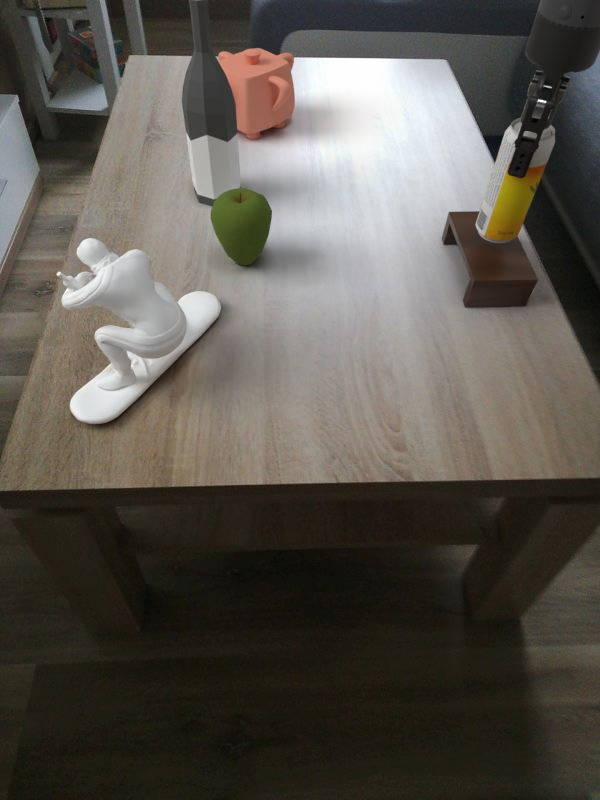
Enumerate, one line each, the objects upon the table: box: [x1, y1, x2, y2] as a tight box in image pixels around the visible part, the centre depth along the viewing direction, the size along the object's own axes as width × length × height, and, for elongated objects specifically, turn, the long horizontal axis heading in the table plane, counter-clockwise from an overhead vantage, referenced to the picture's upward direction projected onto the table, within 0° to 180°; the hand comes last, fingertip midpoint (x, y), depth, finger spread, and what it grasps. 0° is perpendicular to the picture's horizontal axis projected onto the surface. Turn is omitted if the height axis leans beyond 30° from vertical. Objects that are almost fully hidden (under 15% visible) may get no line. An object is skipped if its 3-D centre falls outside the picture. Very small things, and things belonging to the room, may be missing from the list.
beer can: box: [476, 117, 556, 243], centre depth 74 cm, size 6×6×15 cm
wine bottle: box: [181, 0, 242, 207], centre depth 84 cm, size 8×8×30 cm
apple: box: [209, 187, 273, 266], centre depth 81 cm, size 9×8×12 cm
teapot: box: [217, 47, 296, 140], centre depth 105 cm, size 17×16×13 cm
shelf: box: [441, 210, 539, 308], centre depth 83 cm, size 16×9×5 cm, turn 3°
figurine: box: [56, 237, 222, 425], centre depth 66 cm, size 26×13×17 cm, turn 148°
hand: (521, 162), depth 71 cm, fingers closed on beer can, 6 cm apart
